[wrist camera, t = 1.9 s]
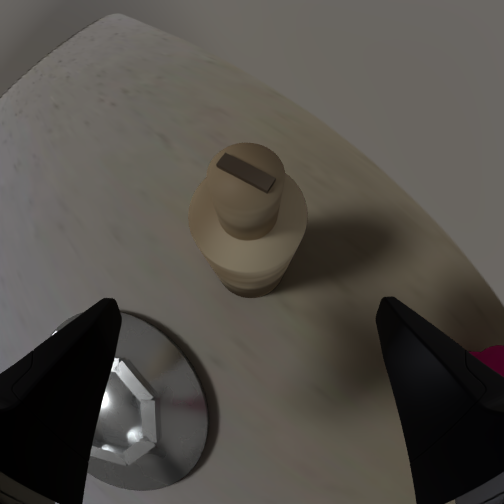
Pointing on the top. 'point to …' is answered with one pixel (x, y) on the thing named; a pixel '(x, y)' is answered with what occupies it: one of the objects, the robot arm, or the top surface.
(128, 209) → the top surface
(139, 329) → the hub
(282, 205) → the knob
